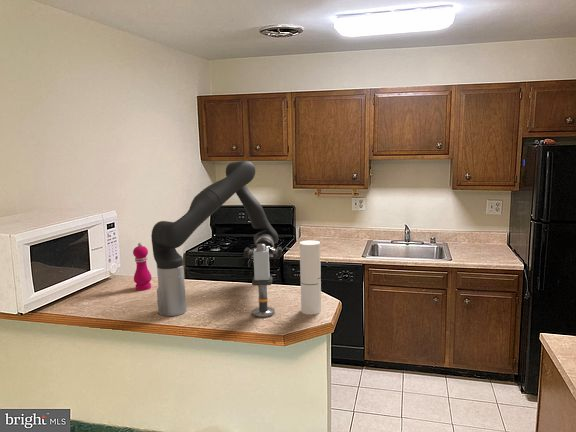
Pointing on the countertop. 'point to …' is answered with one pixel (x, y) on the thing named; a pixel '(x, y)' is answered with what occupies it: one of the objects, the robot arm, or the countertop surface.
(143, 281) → the pepper mill
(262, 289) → the pipe stand
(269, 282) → the ring
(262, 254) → the sleeve
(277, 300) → the countertop surface
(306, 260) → the cylindrical container
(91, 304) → the countertop surface
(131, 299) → the countertop surface
